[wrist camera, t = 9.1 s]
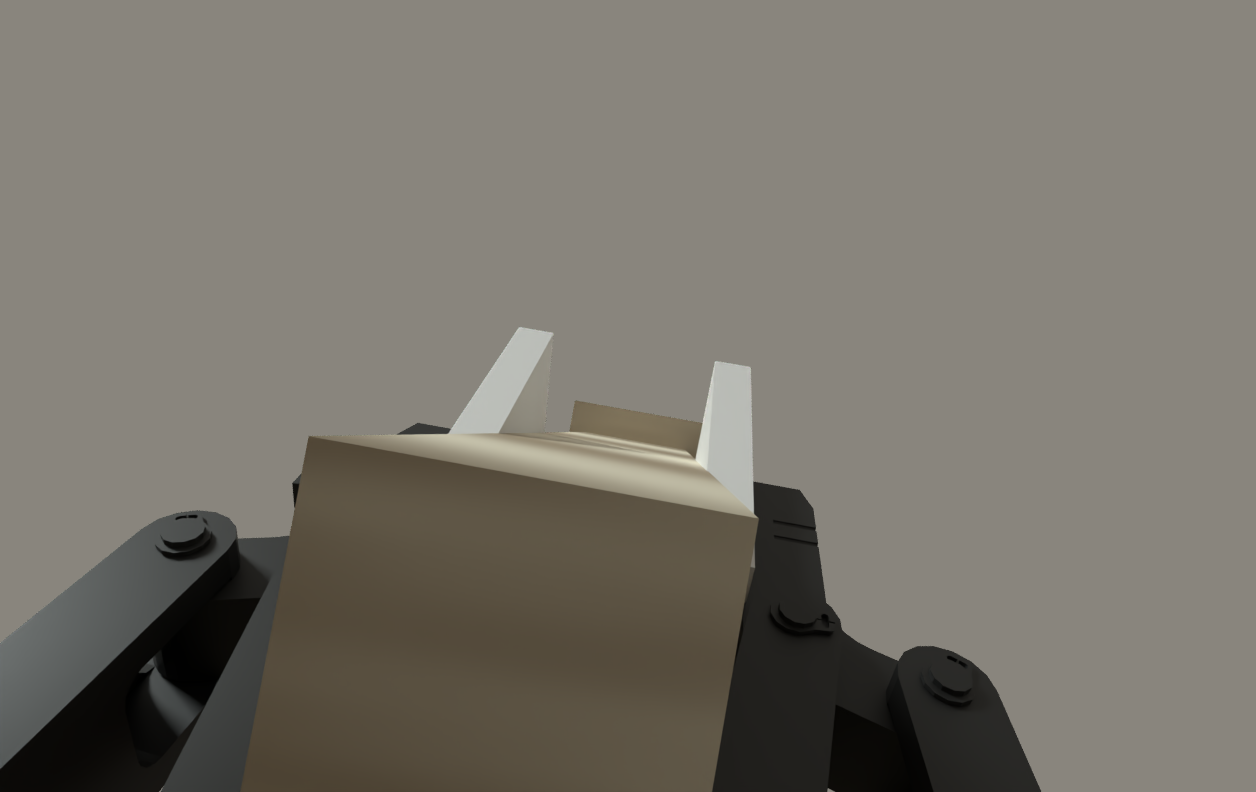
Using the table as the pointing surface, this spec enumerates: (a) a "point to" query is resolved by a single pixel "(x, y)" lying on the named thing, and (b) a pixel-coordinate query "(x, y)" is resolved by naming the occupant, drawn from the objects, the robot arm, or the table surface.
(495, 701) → the ash rail
